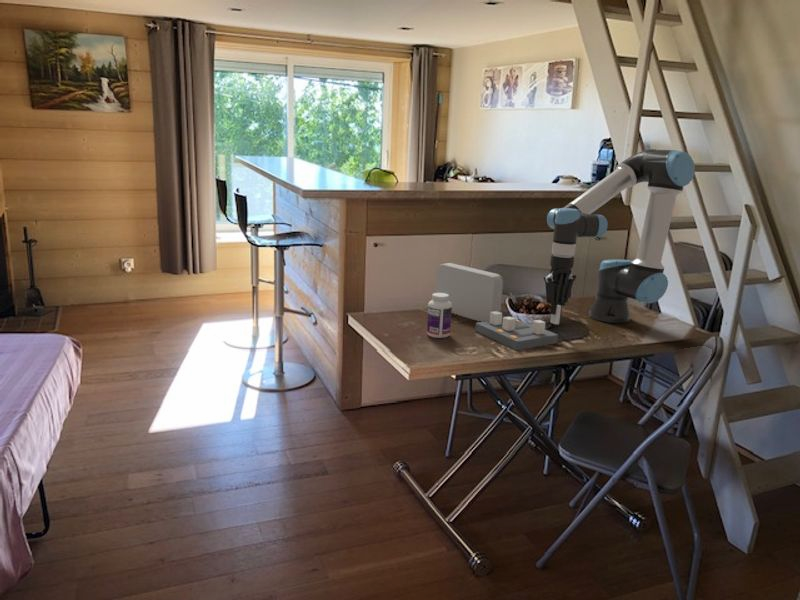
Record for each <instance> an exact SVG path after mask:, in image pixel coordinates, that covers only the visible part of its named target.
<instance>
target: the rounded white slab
mask: <svg viewBox="0 0 800 600" xmlns="http://www.w3.org/2000/svg"><path fill="white" fill-rule="evenodd" d="M434 281H435V282H434V293H446V294H448V295H449V299H448V301H449V302H451V304H452V312H451V314H453V313H454V314H453V315H456V314H457V316H460V317H463V318H467V319H470V320H474V321H476V320H477V321H476V322H479V321H481V322H485V321H489V320H490V312H494V311H498V312H500V313H501V311H502V310H501V308H502V298H503V286H504V280H503V277H502V276H501V275H500V274H499V273H495V272H491V271H486V270H483V269H478V268H473V267H470V266H466V265H462V264H461V265H460V264H458V263H452V262H447V263H441V264H438V265H437V266H436V269H435V280H434Z"/></svg>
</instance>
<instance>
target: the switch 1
mask: <svg viewBox="0 0 800 600" xmlns="http://www.w3.org/2000/svg"><path fill="white" fill-rule="evenodd" d="M502 319H503V312H501V311H500V312H498V311H494V312H490V320H489V323H491V324H493V325H500V324H502Z"/></svg>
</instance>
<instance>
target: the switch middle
mask: <svg viewBox="0 0 800 600" xmlns="http://www.w3.org/2000/svg"><path fill="white" fill-rule="evenodd" d="M502 319H503V324H502V329H504V330H506V331H512V330H515V321H516V319H515V318H514V317H512V316H502Z"/></svg>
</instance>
